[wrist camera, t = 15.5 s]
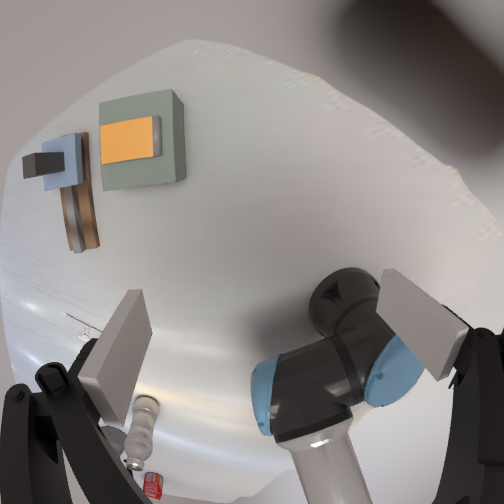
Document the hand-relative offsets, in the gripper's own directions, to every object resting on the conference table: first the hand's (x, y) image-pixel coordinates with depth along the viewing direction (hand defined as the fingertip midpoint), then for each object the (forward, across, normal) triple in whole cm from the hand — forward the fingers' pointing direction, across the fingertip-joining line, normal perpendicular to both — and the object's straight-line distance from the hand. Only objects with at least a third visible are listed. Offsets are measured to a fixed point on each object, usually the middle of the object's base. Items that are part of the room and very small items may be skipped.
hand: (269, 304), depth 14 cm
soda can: (+32, +38, +94) cm, 106 cm away
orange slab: (+21, +13, -11) cm, 28 cm away
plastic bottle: (+32, +25, +45) cm, 60 cm away
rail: (+32, +28, -5) cm, 42 cm away
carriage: (+30, +28, -11) cm, 42 cm away
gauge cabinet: (+32, +13, -11) cm, 36 cm away
